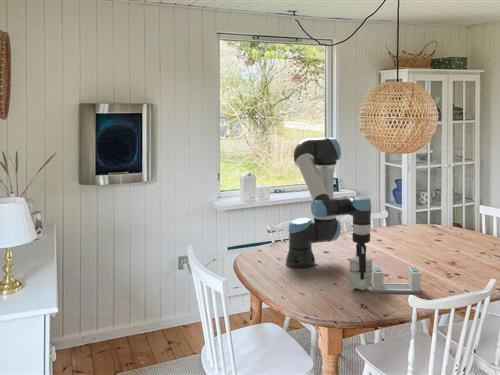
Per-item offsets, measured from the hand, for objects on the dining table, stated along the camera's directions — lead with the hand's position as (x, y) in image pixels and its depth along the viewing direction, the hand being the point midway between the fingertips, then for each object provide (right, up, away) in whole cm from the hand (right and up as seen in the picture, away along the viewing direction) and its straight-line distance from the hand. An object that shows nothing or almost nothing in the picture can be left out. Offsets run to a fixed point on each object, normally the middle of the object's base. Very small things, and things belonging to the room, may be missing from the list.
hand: (360, 281), depth 207 cm
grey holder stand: (+15, -3, -1) cm, 16 cm away
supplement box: (0, -2, 0) cm, 2 cm away
